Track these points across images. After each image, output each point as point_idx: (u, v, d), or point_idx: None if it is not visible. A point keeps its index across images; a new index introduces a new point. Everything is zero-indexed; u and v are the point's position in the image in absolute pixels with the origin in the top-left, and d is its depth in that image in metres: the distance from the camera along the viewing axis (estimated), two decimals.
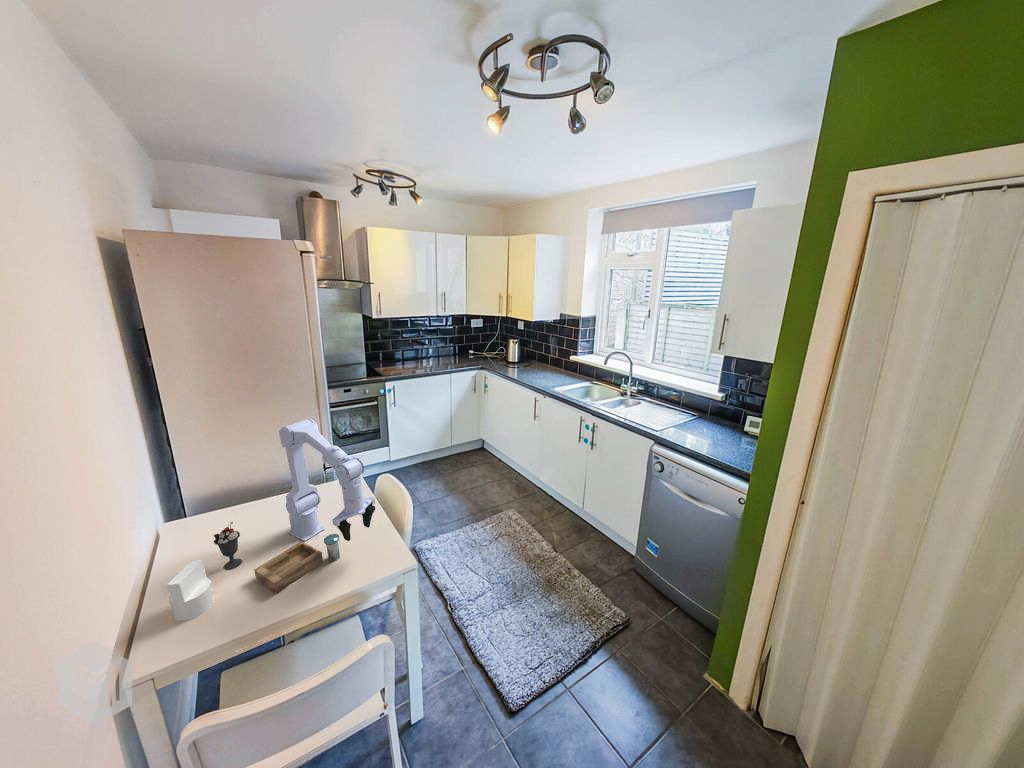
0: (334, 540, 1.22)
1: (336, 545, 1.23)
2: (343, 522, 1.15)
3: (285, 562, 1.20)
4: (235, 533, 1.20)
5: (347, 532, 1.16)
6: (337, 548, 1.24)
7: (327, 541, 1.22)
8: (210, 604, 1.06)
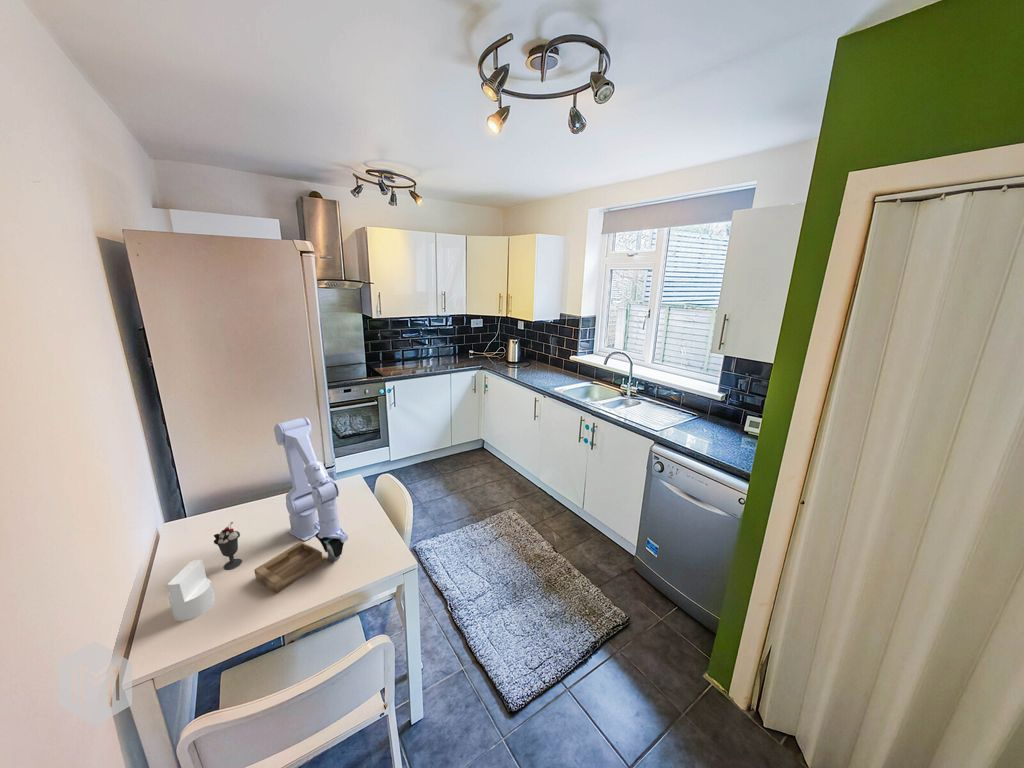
0: None
1: None
2: None
3: (285, 562, 1.20)
4: (235, 533, 1.20)
5: (321, 542, 1.23)
6: None
7: (327, 541, 1.22)
8: (210, 604, 1.06)
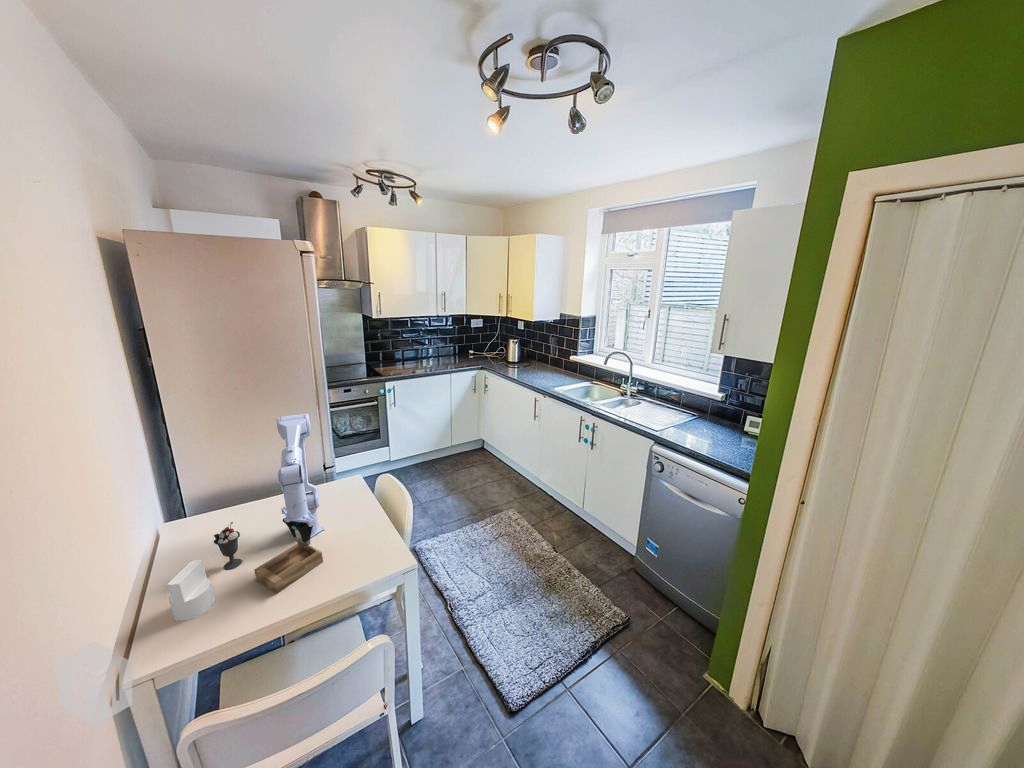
0: None
1: None
2: None
3: (285, 562, 1.20)
4: (235, 533, 1.20)
5: (288, 527, 1.20)
6: None
7: None
8: (210, 604, 1.06)
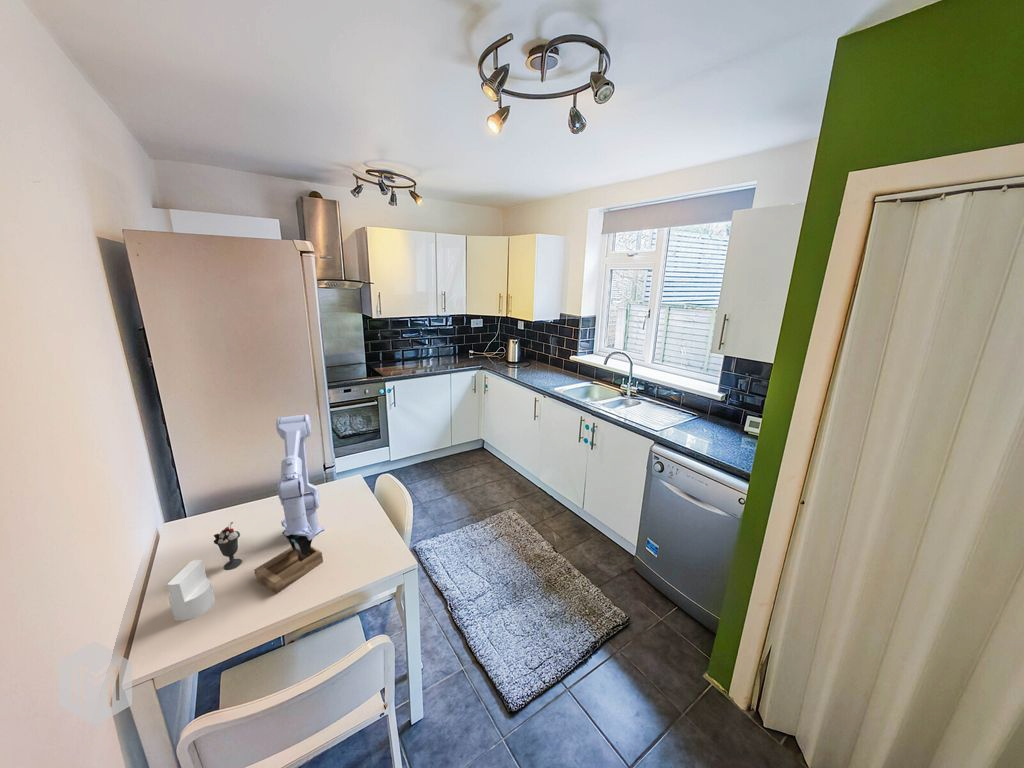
0: None
1: None
2: None
3: (285, 562, 1.20)
4: (235, 533, 1.20)
5: (288, 540, 1.21)
6: None
7: None
8: (210, 604, 1.06)
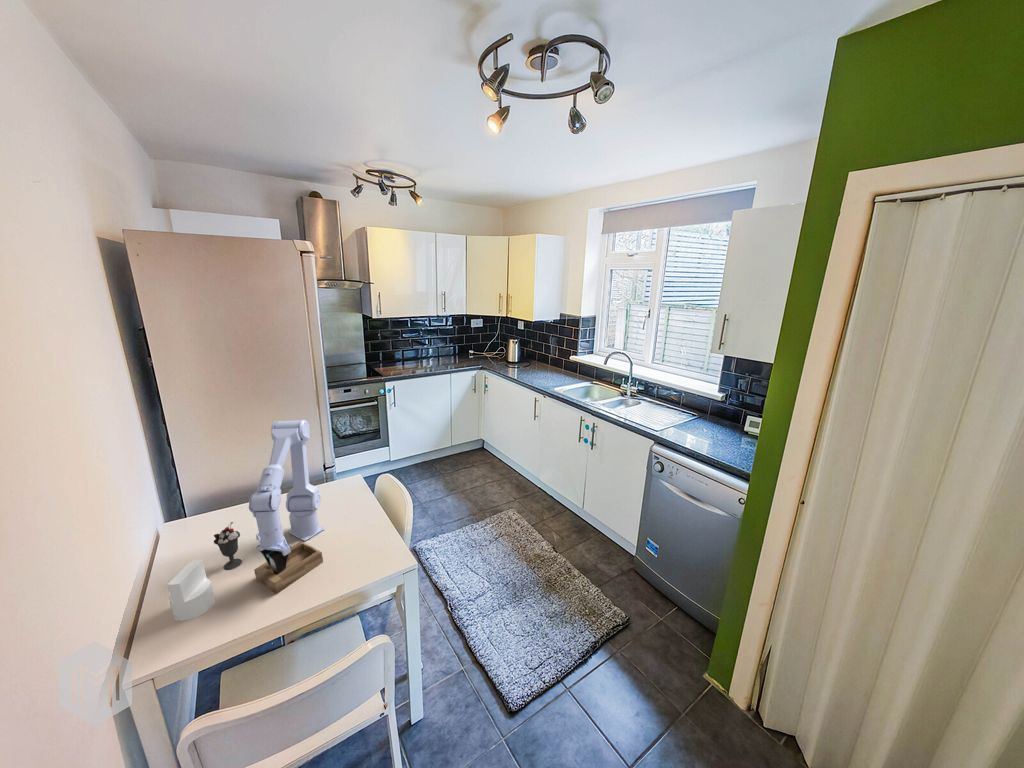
0: None
1: None
2: None
3: None
4: (235, 533, 1.20)
5: (263, 555, 1.14)
6: None
7: None
8: (210, 604, 1.06)
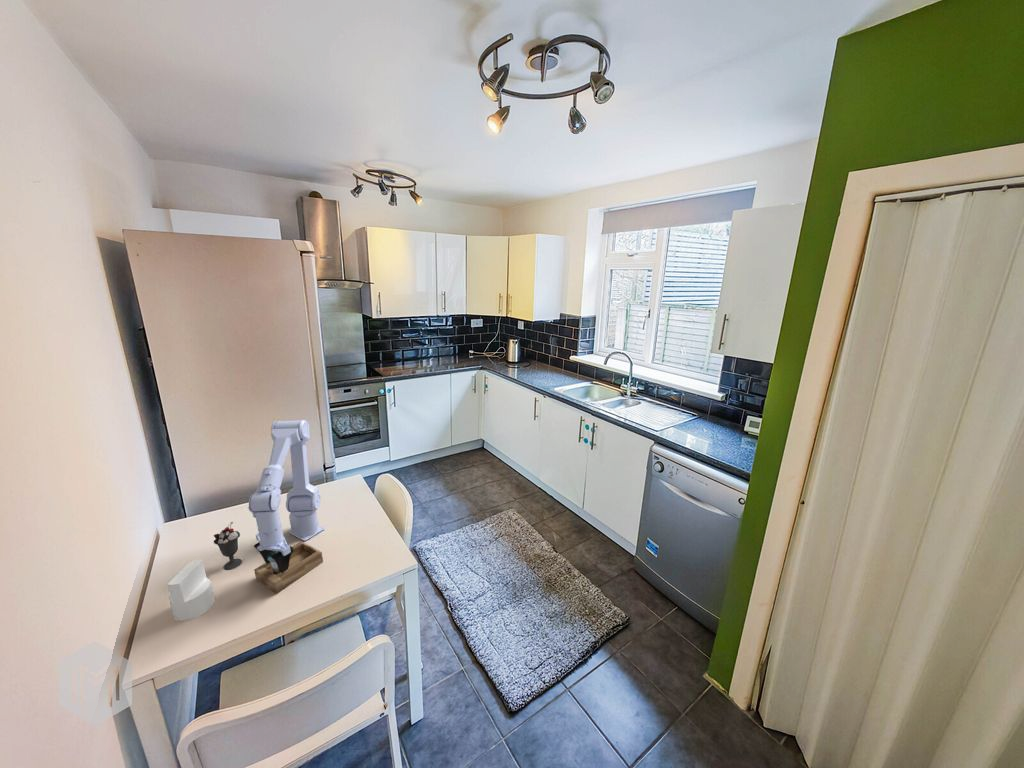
0: None
1: None
2: None
3: None
4: (235, 533, 1.20)
5: (260, 553, 1.15)
6: None
7: None
8: (210, 604, 1.06)
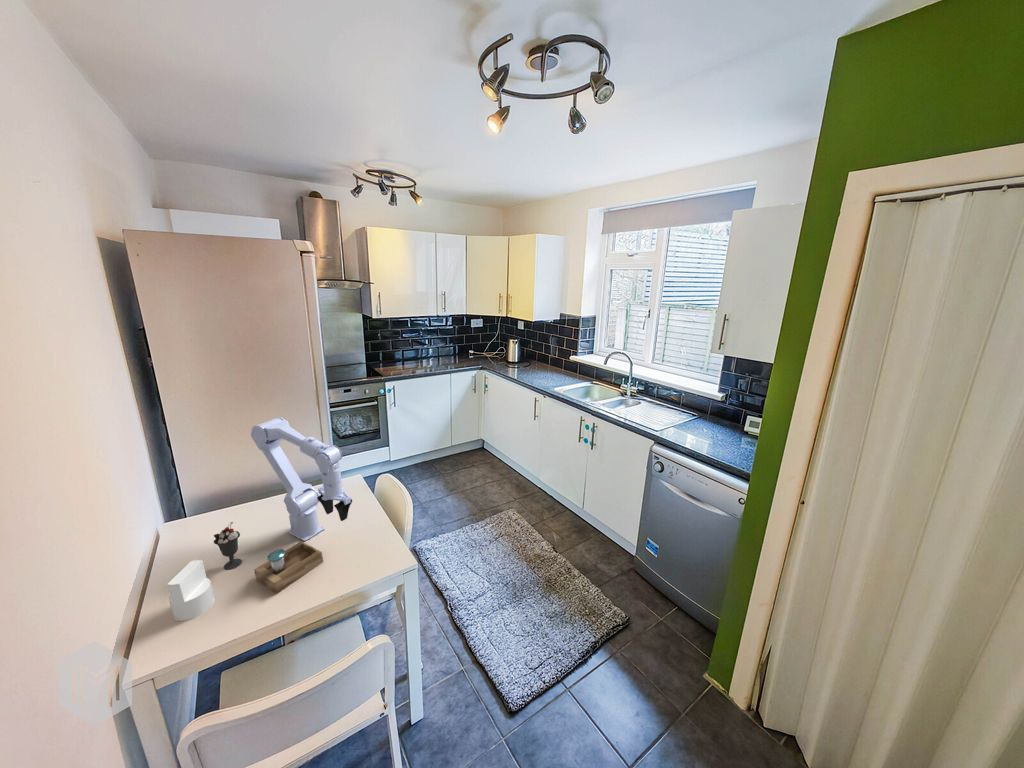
0: (278, 557, 1.13)
1: (281, 562, 1.14)
2: (322, 494, 1.30)
3: (285, 562, 1.20)
4: (235, 533, 1.20)
5: None
6: (282, 565, 1.14)
7: (271, 557, 1.12)
8: (210, 604, 1.06)
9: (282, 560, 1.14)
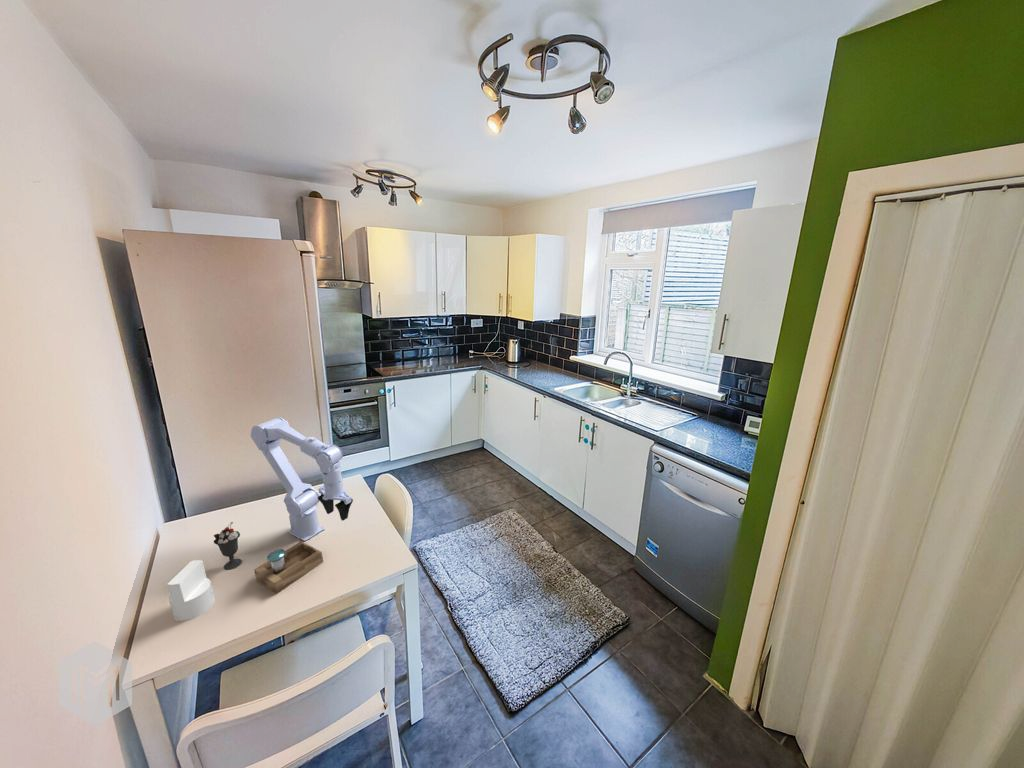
0: (278, 557, 1.13)
1: (281, 562, 1.14)
2: (323, 494, 1.31)
3: (285, 562, 1.20)
4: (235, 533, 1.20)
5: (323, 504, 1.31)
6: (282, 565, 1.14)
7: (270, 558, 1.12)
8: (210, 604, 1.06)
9: (282, 560, 1.14)
